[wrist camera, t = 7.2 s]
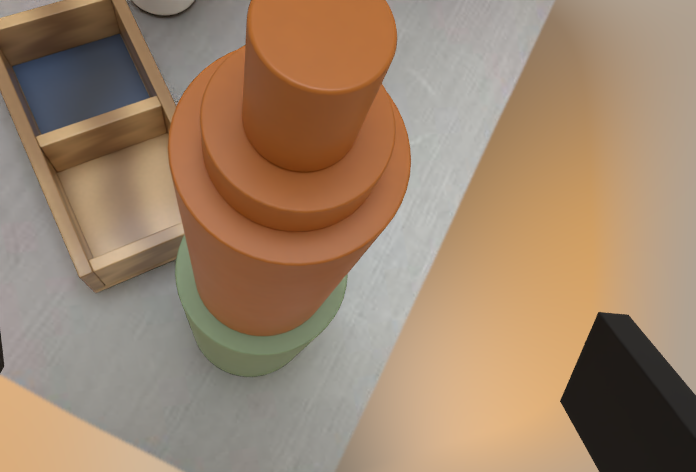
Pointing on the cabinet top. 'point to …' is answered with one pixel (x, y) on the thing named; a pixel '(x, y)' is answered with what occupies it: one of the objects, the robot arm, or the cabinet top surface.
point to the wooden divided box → (95, 133)
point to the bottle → (289, 160)
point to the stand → (241, 349)
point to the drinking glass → (163, 6)
